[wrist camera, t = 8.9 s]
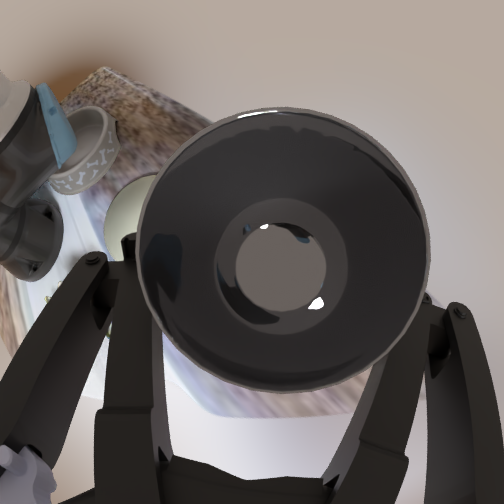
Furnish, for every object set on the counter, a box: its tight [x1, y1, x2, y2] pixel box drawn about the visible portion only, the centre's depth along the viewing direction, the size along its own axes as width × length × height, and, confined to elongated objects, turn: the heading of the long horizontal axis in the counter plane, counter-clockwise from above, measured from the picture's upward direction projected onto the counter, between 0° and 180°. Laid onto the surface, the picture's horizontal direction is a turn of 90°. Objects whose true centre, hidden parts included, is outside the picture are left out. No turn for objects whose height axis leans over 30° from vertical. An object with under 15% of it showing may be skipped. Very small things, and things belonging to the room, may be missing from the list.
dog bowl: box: [47, 106, 121, 195], centre depth 45 cm, size 17×18×5 cm
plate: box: [104, 175, 157, 261], centre depth 41 cm, size 15×15×1 cm
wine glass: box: [135, 107, 431, 394], centre depth 14 cm, size 8×8×15 cm
